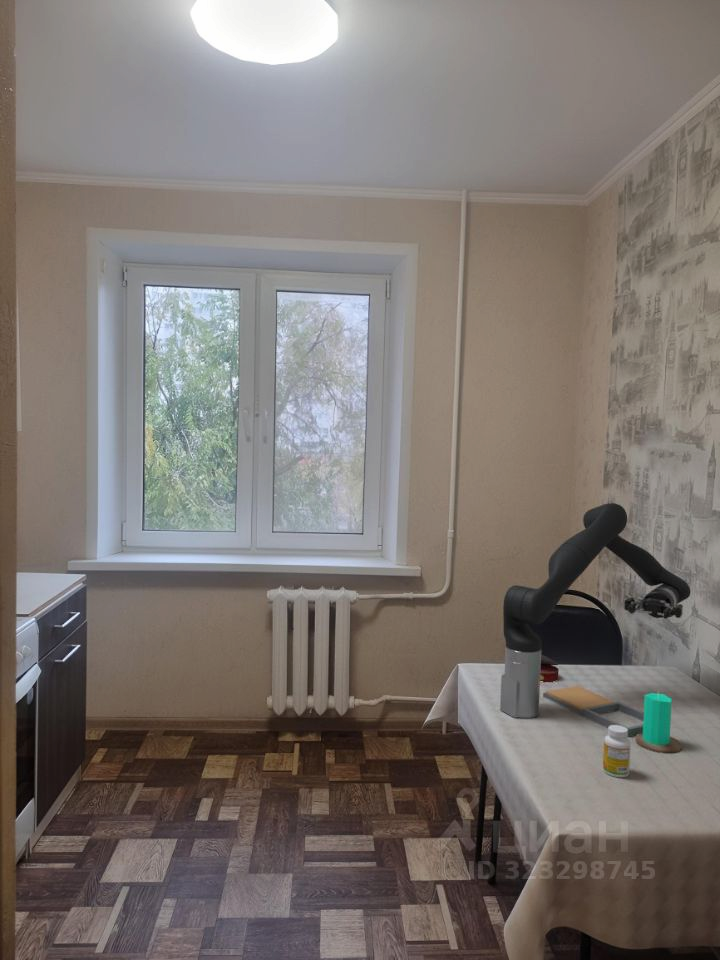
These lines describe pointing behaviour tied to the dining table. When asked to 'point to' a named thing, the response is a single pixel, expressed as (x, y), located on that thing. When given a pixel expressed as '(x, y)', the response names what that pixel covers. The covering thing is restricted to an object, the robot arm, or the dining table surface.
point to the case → (593, 706)
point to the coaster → (670, 748)
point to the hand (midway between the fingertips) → (648, 612)
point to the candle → (657, 719)
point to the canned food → (548, 670)
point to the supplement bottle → (617, 752)
